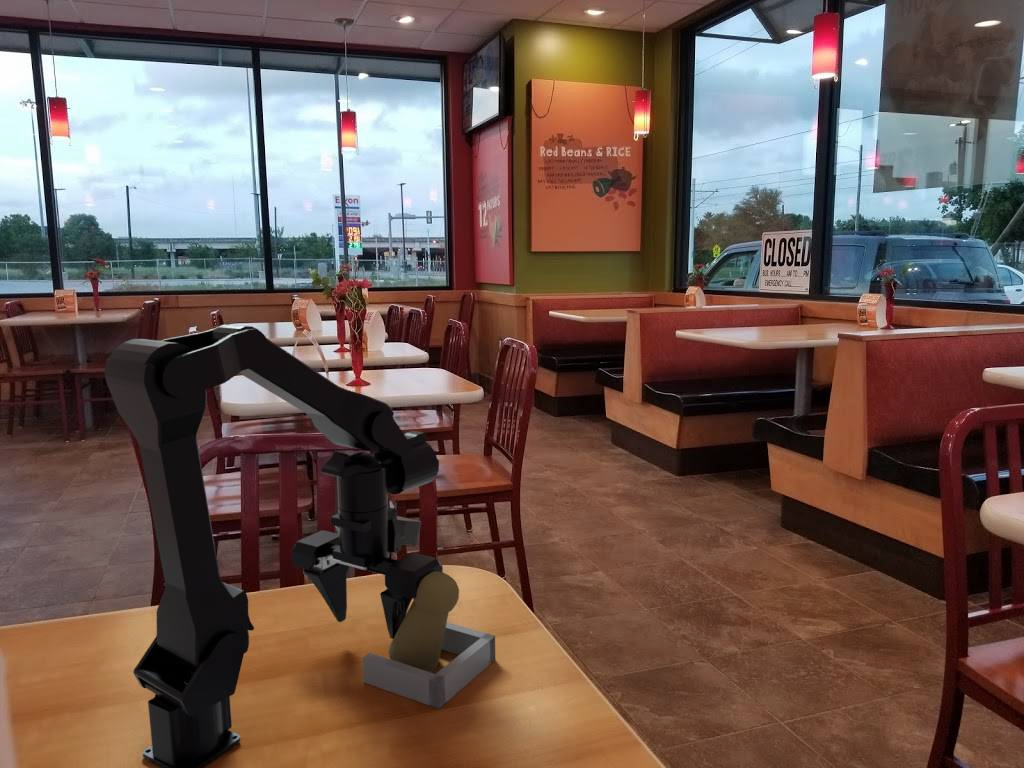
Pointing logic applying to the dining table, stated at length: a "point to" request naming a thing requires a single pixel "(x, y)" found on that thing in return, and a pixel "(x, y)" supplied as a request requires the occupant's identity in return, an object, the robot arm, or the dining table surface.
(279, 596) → the dining table surface
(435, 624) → the olive pawn
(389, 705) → the dining table surface
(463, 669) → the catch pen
